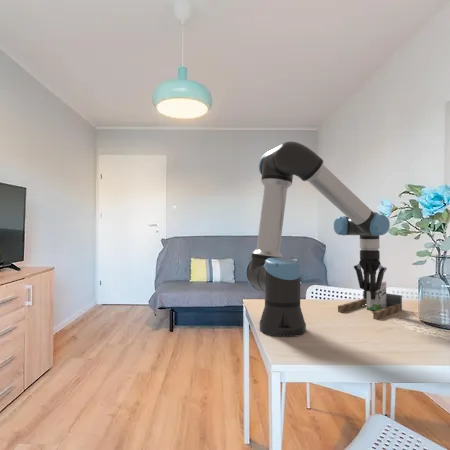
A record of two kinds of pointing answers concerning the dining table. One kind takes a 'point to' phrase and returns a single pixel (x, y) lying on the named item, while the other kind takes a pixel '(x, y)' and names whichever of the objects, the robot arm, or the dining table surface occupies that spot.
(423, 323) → the dining table surface
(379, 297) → the ink box
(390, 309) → the guide channel
